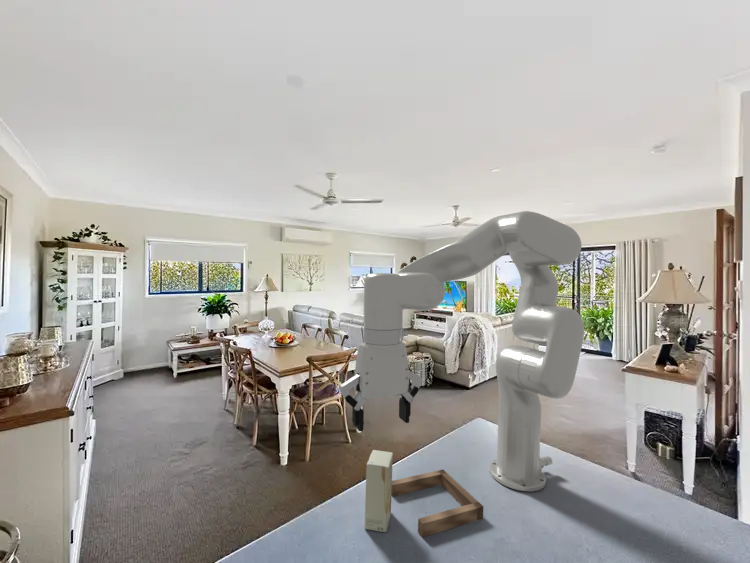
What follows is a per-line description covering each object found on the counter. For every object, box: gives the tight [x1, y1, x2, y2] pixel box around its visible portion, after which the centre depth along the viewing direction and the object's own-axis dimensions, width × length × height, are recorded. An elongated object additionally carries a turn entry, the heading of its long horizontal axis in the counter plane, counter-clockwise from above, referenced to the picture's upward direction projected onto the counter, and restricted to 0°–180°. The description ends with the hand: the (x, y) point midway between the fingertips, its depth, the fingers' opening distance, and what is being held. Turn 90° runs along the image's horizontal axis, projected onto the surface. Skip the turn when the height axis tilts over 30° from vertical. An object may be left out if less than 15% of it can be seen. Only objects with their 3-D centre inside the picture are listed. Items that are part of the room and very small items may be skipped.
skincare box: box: [364, 449, 394, 533], centre depth 67 cm, size 6×4×12 cm
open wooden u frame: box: [391, 469, 484, 538], centre depth 72 cm, size 14×14×2 cm
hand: (382, 424), depth 67 cm, fingers open, 9 cm apart
